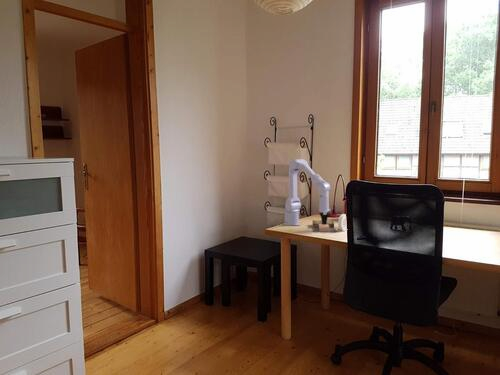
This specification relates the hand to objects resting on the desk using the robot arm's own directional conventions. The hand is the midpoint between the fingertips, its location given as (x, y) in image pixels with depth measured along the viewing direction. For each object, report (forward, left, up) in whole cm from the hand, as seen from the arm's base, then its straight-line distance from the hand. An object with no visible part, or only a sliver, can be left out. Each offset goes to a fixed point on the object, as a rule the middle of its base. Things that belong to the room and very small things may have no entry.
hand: (324, 224), depth 239 cm
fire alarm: (+25, +30, -4) cm, 39 cm away
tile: (0, 0, -3) cm, 3 cm away
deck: (0, +11, -4) cm, 12 cm away
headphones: (+15, +4, -4) cm, 16 cm away
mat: (0, 0, -4) cm, 4 cm away
